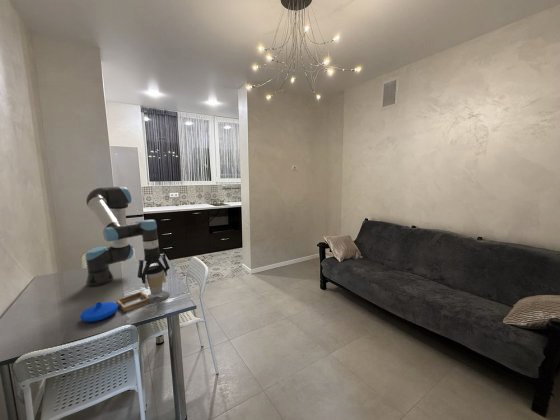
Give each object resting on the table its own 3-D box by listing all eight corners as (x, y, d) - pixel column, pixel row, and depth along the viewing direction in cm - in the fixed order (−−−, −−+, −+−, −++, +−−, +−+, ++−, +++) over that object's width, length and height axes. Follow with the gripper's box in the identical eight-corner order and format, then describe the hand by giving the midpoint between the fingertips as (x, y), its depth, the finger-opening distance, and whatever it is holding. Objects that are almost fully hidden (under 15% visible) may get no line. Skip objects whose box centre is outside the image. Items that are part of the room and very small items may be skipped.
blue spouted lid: (99, 307, 135) (97, 295, 134) (125, 308, 134) (124, 296, 132) (72, 325, 120) (69, 311, 119) (102, 326, 118) (99, 312, 117)
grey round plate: (140, 298, 143) (140, 297, 143) (163, 290, 153) (163, 289, 153) (149, 306, 135) (149, 304, 135) (173, 296, 144) (173, 295, 144)
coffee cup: (158, 297, 138) (155, 271, 135) (143, 296, 140) (140, 270, 137) (169, 289, 147) (166, 265, 145) (155, 288, 149) (152, 264, 147)
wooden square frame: (116, 304, 138) (116, 300, 137) (141, 295, 147) (141, 291, 147) (124, 312, 129) (124, 307, 129) (150, 302, 139) (150, 298, 138)
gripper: (132, 253, 129) (137, 294, 132) (173, 243, 145) (177, 280, 148) (127, 251, 134) (132, 290, 137) (167, 241, 150) (171, 276, 153)
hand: (155, 285), depth 143 cm, fingers closed on coffee cup, 9 cm apart
